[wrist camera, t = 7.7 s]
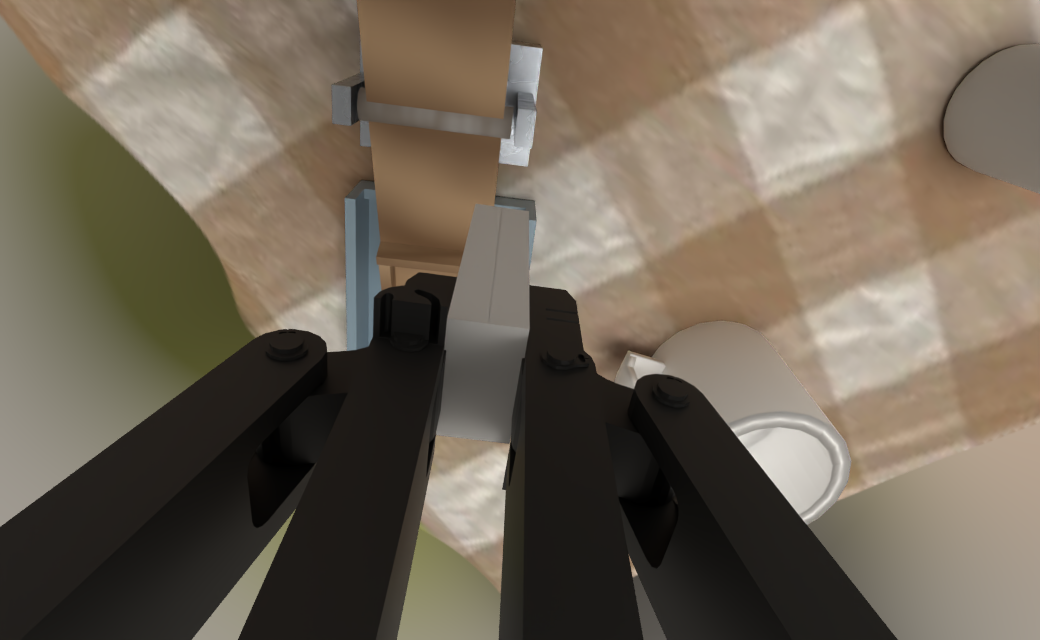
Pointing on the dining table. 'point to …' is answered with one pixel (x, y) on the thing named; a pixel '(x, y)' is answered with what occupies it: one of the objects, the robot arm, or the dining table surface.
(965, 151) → the cup
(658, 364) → the mug
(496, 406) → the robot arm
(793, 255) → the dining table surface
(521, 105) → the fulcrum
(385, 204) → the lever
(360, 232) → the tray
